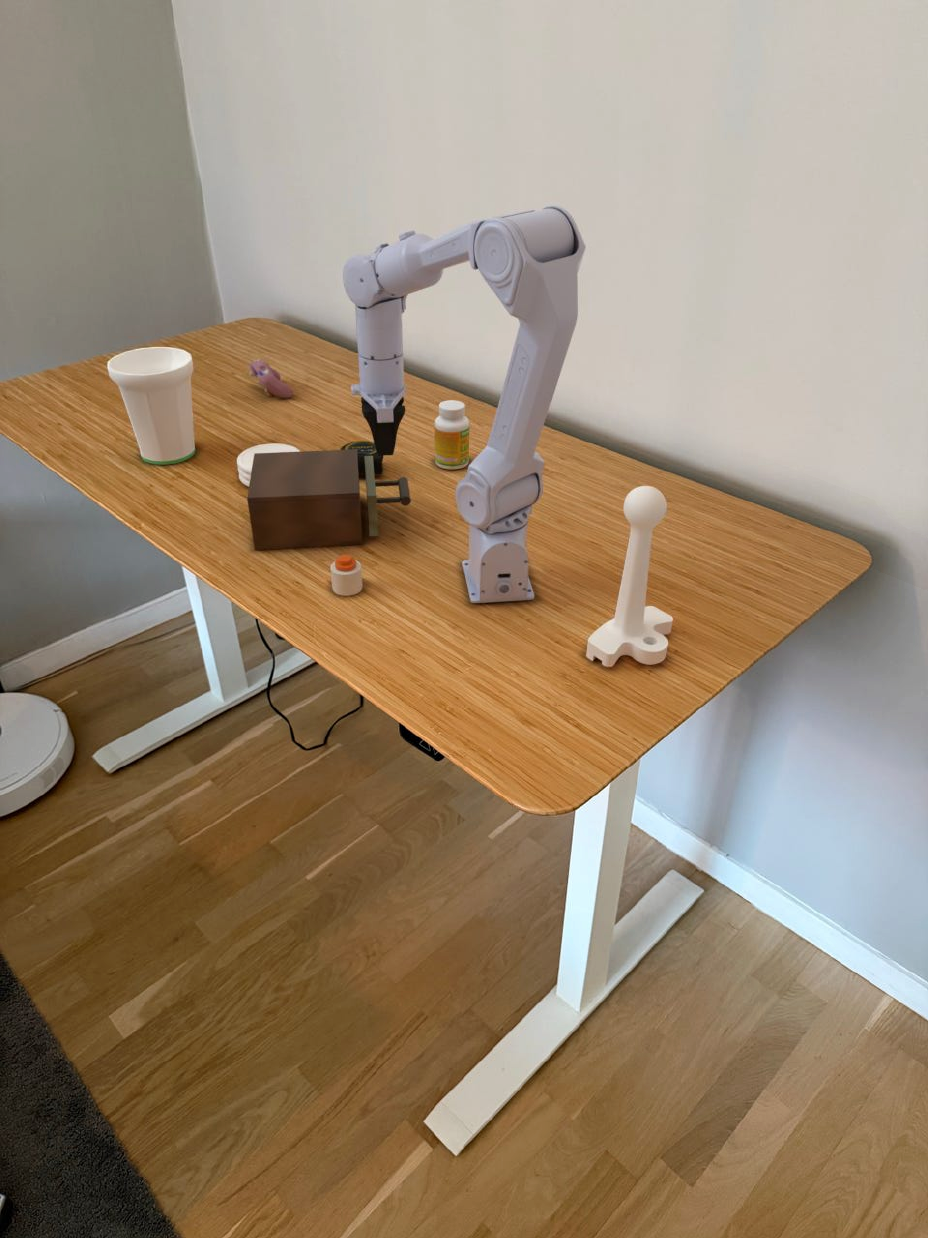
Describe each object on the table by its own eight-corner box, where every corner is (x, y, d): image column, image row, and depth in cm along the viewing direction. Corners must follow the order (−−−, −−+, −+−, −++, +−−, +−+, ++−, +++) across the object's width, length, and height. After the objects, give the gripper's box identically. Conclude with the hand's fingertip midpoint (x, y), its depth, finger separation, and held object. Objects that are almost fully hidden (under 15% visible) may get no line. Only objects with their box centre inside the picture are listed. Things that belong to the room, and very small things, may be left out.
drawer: (406, 492, 131) (405, 453, 128) (412, 534, 121) (411, 493, 118) (282, 498, 129) (277, 459, 126) (278, 541, 120) (273, 500, 116)
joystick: (642, 616, 108) (666, 465, 96) (692, 646, 103) (723, 491, 91) (578, 651, 102) (594, 495, 90) (627, 684, 97) (651, 524, 86)
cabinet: (360, 498, 132) (356, 448, 127) (362, 544, 121) (359, 492, 116) (261, 502, 130) (254, 453, 125) (254, 550, 119) (247, 497, 115)
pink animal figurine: (261, 391, 169) (240, 361, 164) (281, 377, 169) (261, 347, 165) (275, 409, 162) (254, 379, 157) (296, 395, 162) (275, 364, 157)
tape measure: (338, 480, 136) (336, 458, 134) (342, 461, 142) (340, 439, 139) (383, 480, 136) (382, 458, 134) (385, 460, 142) (384, 439, 140)
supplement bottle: (465, 472, 139) (465, 413, 133) (431, 468, 140) (430, 409, 134) (471, 457, 143) (472, 399, 137) (439, 454, 144) (438, 396, 138)
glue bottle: (363, 595, 111) (361, 565, 108) (332, 596, 111) (329, 566, 108) (362, 578, 114) (360, 549, 111) (332, 580, 114) (329, 550, 111)
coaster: (227, 474, 137) (224, 453, 135) (283, 456, 143) (281, 436, 141) (260, 498, 131) (257, 476, 129) (317, 479, 136) (315, 458, 134)
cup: (111, 464, 140) (88, 369, 131) (156, 433, 149) (138, 342, 141) (181, 475, 137) (163, 379, 128) (222, 443, 147) (207, 351, 138)
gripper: (347, 334, 118) (354, 430, 126) (349, 374, 106) (356, 477, 114) (401, 333, 119) (404, 428, 127) (408, 372, 107) (411, 474, 115)
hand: (385, 451), depth 120 cm, fingers closed
